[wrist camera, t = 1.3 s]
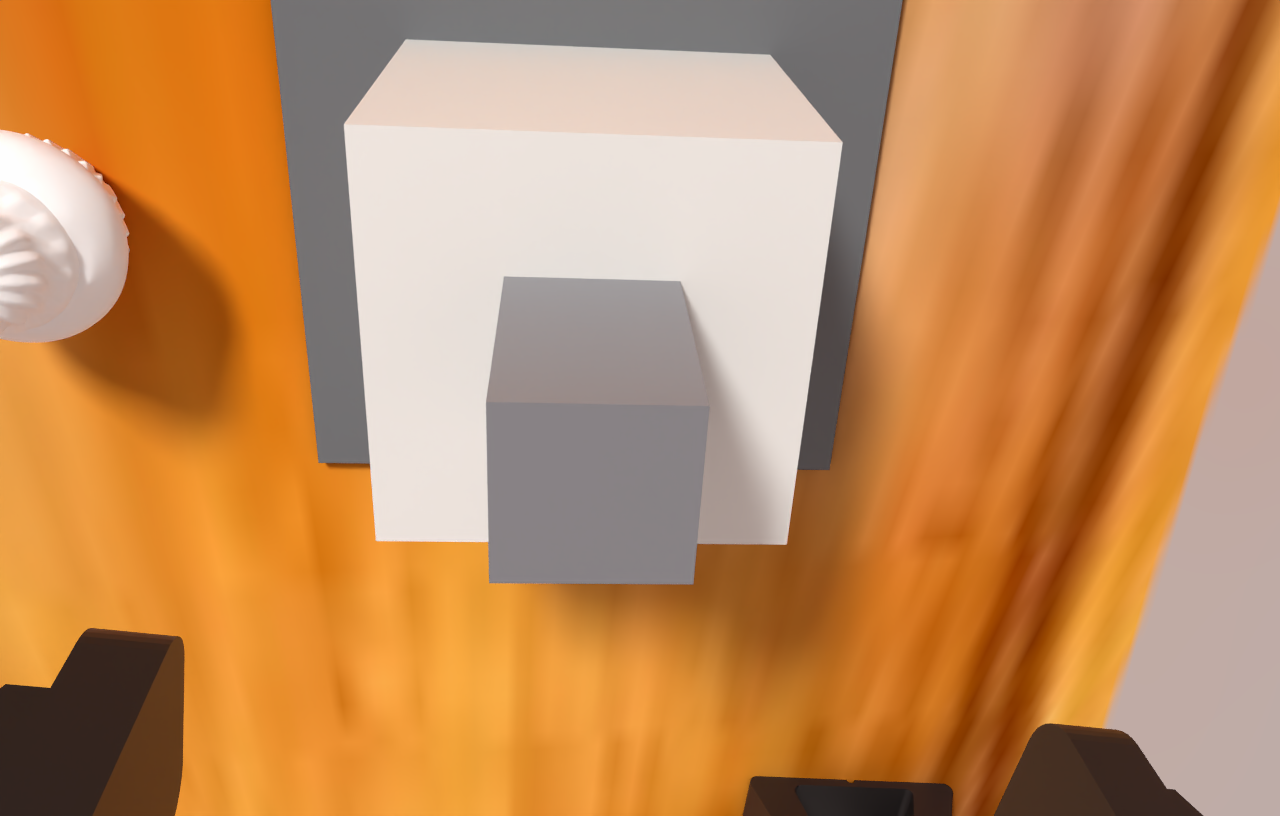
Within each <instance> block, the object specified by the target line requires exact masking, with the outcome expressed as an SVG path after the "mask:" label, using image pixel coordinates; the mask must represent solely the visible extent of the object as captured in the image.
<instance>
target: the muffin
mask: <svg viewBox="0 0 1280 816" xmlns="http://www.w3.org/2000/svg"><path fill="white" fill-rule="evenodd" d="M124 217H125V214H124V212H123V211H122V209H121V207H120V205H119V203H118V201H117V197H116V195H115V193H114V192H113V190H112V188H111V187H110V186H109V185H108V184H106V183H105V182H104V181H103V176H102V174H100V173H96V172H95V170H94V166H92V165H91V164H89V163H88V162H86V161H84V159H82V158H81V157H79V156H78V155H76V154H75V153H74V152H72V151H71V150H69V149H64V148H62V147H60V146H59V145H57V144H55V143H54V142H52V141H51V140H48V139H46V140H44V141H42V140H40V139H38V138H36V137H34V136H32V135H30V134H28V133H27V134H25V135H23V134H20V133H16V132H11V131H5V130H0V339H4V340H10V341H17V342H36V343H37V342H51V341H57V340H61V339H65V338H68V337H71V336H74V335H76V334H78V333H81V332H83V331H85V330H86V329H88V328H90V327H91V326H93V325H94V324H95V323H97V322H98V321H99V320H101V319H102V318H103V317H104V316H105V315H106V314H107V313H108V312H109V311H110V309H111V308H112V307H113V306H114V304H115V303H116V301H117V300H118V298H119V296H120V294H121V292H122V289H123V286H124V284H125V280H126V276H127V270H128V259H129V252H130V249H129V246H128V241H127V236H128V235H129V231H128V229H127V226H126V224H125V222H124V220H123V219H124Z"/></svg>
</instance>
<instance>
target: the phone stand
mask: <svg viewBox="0 0 1280 816" xmlns="http://www.w3.org/2000/svg"><path fill="white" fill-rule="evenodd" d="M952 798H953V791H952V789H951V788H950V787H949V786H948V785H946V784H936V783H911V782H886V781H861V780H855V781H854V783H849V782H847V780H836V779H811V778H786V777H761V776H755V777H753V778H752V779H751V781H750V785H749V790H748V794H747V799H746V803H745V807H744V812H743V816H952Z"/></svg>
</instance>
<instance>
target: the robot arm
mask: <svg viewBox="0 0 1280 816" xmlns="http://www.w3.org/2000/svg"><path fill="white" fill-rule="evenodd" d="M183 714H184V644H183V640H182V639H181V637H178V636H168V635H158V634H147V633H137V632H127V631H116V630H106V629H96V628H90V629H87V630H86V631H85V632H84V633H83V634H82V635H81V636H80V638H79V639H78V641H77V643H76V644H75V646H74V648H73V650H72V651H71V653H70V655H69V657H68V658H67V660H66V662H65V664H64V665H63V667H62V669H61V670H60V672H59V674H58V676H57V677H56V679H55V681H54V683H53V684H52V686H51V688H43V687H32V686H21V685H9V684H5V685H4V686H3V687H1V688H0V816H175V812H176V808H177V803H178V798H179V792H180V786H181V778H182V766H183ZM994 816H1203V815H1202V814H1201V813H1199V811H1197V810H1196V809H1195V808H1194V807H1193V806H1192V805H1191V804H1190V803H1189V802H1188V801H1186V800H1185V799H1184V798H1183V797H1182V796H1181V795H1180V794H1179V793H1178V792H1177V791H1176V790H1173V789H1166V787H1165V786H1164V784H1163V782H1162V781H1161V779H1160V778H1159V776H1158V775H1157V773H1156V772H1155V770H1154V769H1153V767H1152V766H1151V764H1150V763H1149V761H1148V760H1147V758H1146V757H1145V755H1144V754H1143V752H1142V751H1141V750H1140V748H1139V746H1138V745H1137V744H1136V742H1135V741H1134V740H1133V739H1132V738H1131V737H1130V736H1129V735H1128V734H1126V733H1124V732H1122V731H1119V730H1113V729H1102V728H1092V727H1081V726H1071V725H1061V724H1044V725H1042V726H1040V727H1039V728H1038V729H1036V731H1035V732H1034V733H1033V734H1032V736H1031V738H1030V740H1029V742H1028V744H1027V746H1026V748H1025V750H1024V752H1023V755H1022V757H1021V759H1020V761H1019V763H1018V765H1017V767H1016V769H1015V772H1014V774H1013V776H1012V778H1011V780H1010V782H1009V784H1008V786H1007V789H1006V791H1005V793H1004V795H1003V797H1002V799H1001V801H1000V803H999V806H998V808H997V810H996V812H995V814H994Z"/></svg>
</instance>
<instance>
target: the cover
mask: <svg viewBox="0 0 1280 816" xmlns="http://www.w3.org/2000/svg"><path fill="white" fill-rule="evenodd" d="M344 134H345V147H346V160H347V173H348V186H349V199H350V211H351V224H352V237H353V250H354V263H355V276H356V289H357V302H358V314H359V327H360V340H361V353H362V366H363V379H364V392H365V405H366V417H367V430H368V443H369V456H370V469H371V482H372V495H373V508H374V520H375V533H376V541H437V542H488V544H489V583H551V584H693V583H694V572H695V561H696V550H697V544H770V545H787V539H788V532H789V524H790V517H791V510H792V503H793V496H794V488H795V481H796V474H797V467H798V460H799V453H800V445H801V438H802V431H803V424H804V417H805V410H806V402H807V395H808V388H809V381H810V374H811V367H812V359H813V352H814V345H815V338H816V331H817V323H818V316H819V309H820V302H821V295H822V288H823V280H824V273H825V266H826V259H827V252H828V245H829V237H830V230H831V223H832V216H833V209H834V202H835V194H836V187H837V180H838V173H839V166H840V158H841V151H842V144H843V142H842V141H841V140H840V139H839V137H838V136H837V135H836V134H835V133H834V131H833V130H832V129H831V128H830V127H829V125H828V124H827V123H826V122H825V120H824V119H823V118H822V117H821V116H820V114H819V113H818V112H817V111H816V110H815V108H814V107H813V106H812V105H811V104H810V102H809V101H808V100H807V99H806V97H805V96H804V95H803V94H802V93H801V91H800V90H799V89H798V88H797V87H796V85H795V84H794V83H793V82H792V81H791V79H790V78H789V77H788V76H787V74H786V73H785V72H784V71H783V70H782V68H781V67H780V66H779V65H778V64H777V62H776V61H775V60H774V59H773V58H772V56H771V55H765V54H742V53H718V52H694V51H670V50H647V49H623V48H599V47H575V46H552V45H528V44H504V43H480V42H457V41H433V40H409V39H406V40H405V41H404V42H403V44H402V45H401V47H400V48H399V49H398V51H397V52H396V53H395V55H394V56H393V58H392V59H391V60H390V62H389V63H388V64H387V66H386V67H385V68H384V70H383V71H382V73H381V74H380V75H379V77H378V78H377V79H376V81H375V82H374V84H373V85H372V86H371V88H370V89H369V90H368V92H367V93H366V95H365V96H364V97H363V99H362V100H361V101H360V103H359V104H358V105H357V107H356V108H355V110H354V111H353V112H352V114H351V115H350V116H349V118H348V119H347V121H346V122H345V123H344Z"/></svg>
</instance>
